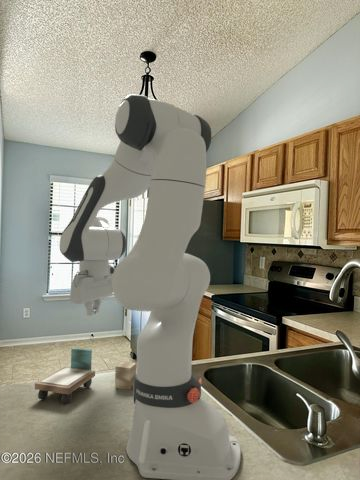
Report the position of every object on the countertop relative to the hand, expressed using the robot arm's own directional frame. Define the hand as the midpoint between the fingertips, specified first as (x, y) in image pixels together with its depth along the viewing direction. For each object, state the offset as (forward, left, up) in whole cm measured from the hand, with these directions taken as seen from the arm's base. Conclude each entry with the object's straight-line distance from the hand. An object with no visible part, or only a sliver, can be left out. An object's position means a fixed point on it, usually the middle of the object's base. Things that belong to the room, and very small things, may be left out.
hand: (92, 314), depth 104 cm
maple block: (-13, +3, -19) cm, 23 cm away
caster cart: (0, +13, -19) cm, 23 cm away
